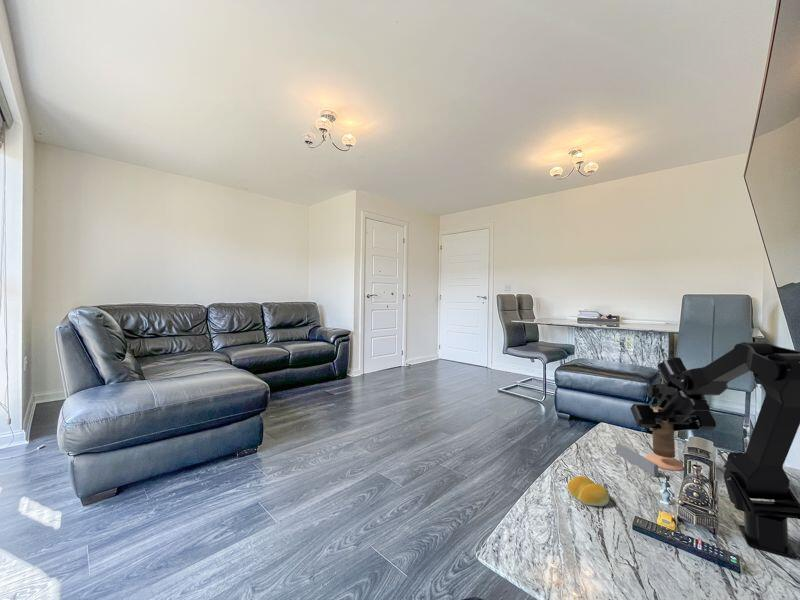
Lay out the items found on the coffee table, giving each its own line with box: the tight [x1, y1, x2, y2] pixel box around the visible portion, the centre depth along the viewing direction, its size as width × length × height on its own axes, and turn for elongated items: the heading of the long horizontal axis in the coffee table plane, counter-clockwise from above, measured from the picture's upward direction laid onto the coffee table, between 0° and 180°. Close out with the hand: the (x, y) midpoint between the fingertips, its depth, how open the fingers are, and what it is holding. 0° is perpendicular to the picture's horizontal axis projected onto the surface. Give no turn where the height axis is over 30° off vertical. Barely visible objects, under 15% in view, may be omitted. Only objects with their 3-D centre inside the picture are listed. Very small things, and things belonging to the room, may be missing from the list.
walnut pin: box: [650, 406, 676, 458], centre depth 96 cm, size 5×5×13 cm
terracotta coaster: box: [644, 453, 684, 472], centre depth 96 cm, size 9×9×1 cm
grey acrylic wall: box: [615, 443, 659, 478], centre depth 96 cm, size 14×1×3 cm, turn 4°
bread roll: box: [566, 475, 610, 507], centre depth 81 cm, size 8×9×4 cm
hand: (660, 429), depth 98 cm, fingers closed on walnut pin, 5 cm apart
